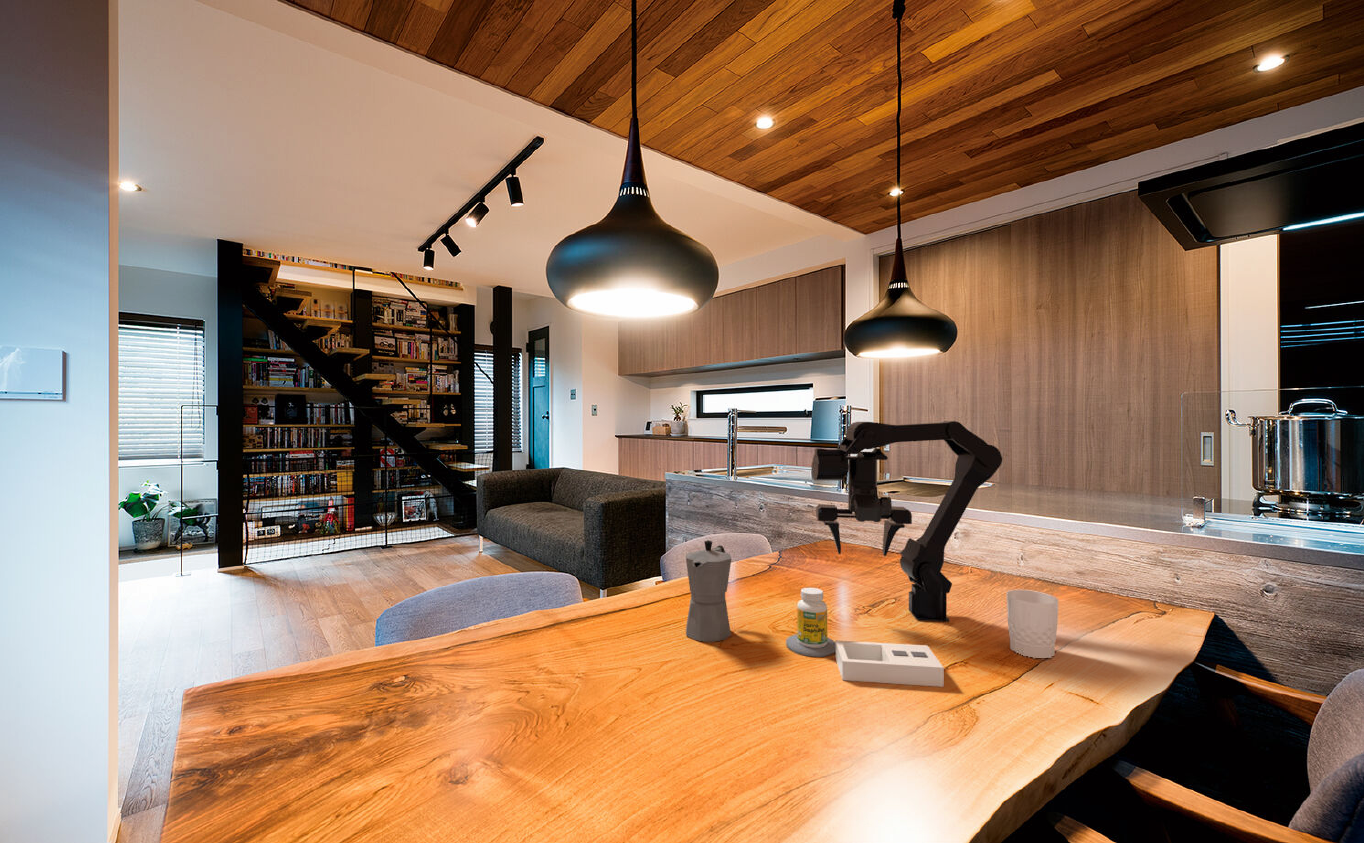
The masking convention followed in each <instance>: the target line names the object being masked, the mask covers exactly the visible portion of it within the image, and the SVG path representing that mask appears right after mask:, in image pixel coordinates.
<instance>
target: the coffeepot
mask: <svg viewBox="0 0 1364 843" xmlns="http://www.w3.org/2000/svg"><path fill="white" fill-rule="evenodd" d="M712 546H713V540H704V548H705V549H701V550H696V551H693V552H688V553H685V562H686V570H687V576H688V577H687V578H688V585H689V592H690V600H689V605H688V606H689V607H688V612H687V618H686V619H687V620H686V625H685V636H686V637H688V638H690V639H692V640H694V641H696V640H698V641H697V642H701V641H703V643H715V642H716V641H717V642H721V640H722V641H725V640H727V639H728V638H730V637H731V636H732V635H731V634H732V633H731V627H730V620H729V613H728V608H727V607H728V606H727V600H726V593H727V592H728V584H729V580H730V579H729V577H730V570H731V564H732V556H731V553H729V552H726V551H725V548H724V546H722V545H717V546H716V547H713V548H712Z"/></svg>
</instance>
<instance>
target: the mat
mask: <svg viewBox="0 0 1364 843" xmlns="http://www.w3.org/2000/svg"><path fill="white" fill-rule="evenodd" d="M785 645H786V647H787V649H789V650H790V651H791V652H793V653H795V654H797V655H801V656H805V657H811V658H812V657H815V658H821V657H828V656H832V655H834V654H835V641H834V640H833V639H831V638H829V637H828V636H827V644H826V645H825V646H824V647H821V648H810V647H805V646H803V645H801V644H800V643H799V642H798V637H797V633H796V634H792V635H790V636H789V637H787V638H786V639H785Z"/></svg>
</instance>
